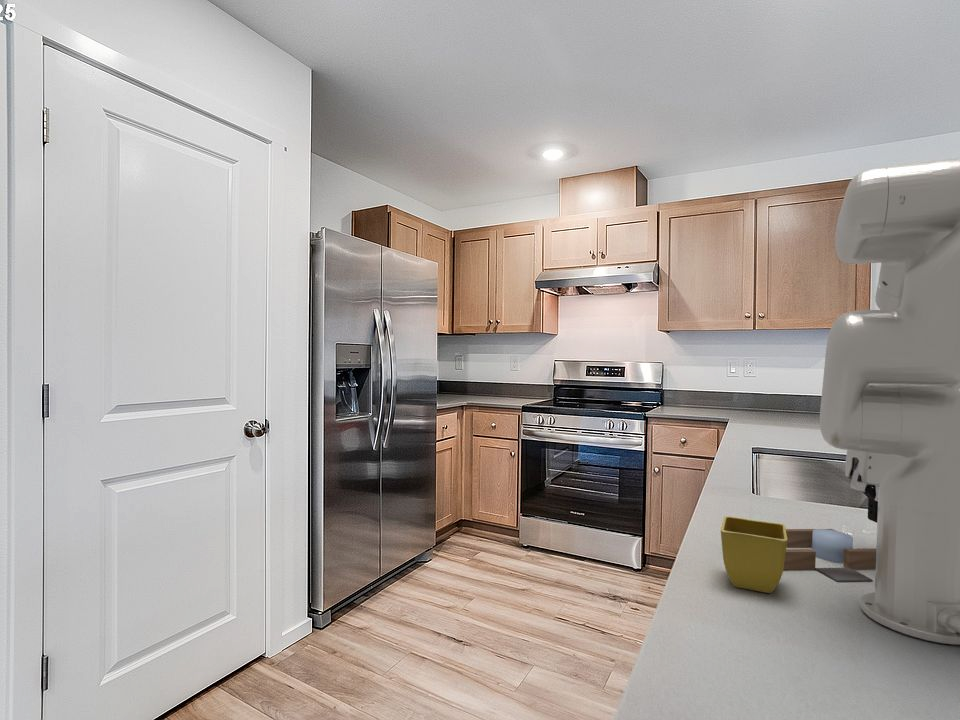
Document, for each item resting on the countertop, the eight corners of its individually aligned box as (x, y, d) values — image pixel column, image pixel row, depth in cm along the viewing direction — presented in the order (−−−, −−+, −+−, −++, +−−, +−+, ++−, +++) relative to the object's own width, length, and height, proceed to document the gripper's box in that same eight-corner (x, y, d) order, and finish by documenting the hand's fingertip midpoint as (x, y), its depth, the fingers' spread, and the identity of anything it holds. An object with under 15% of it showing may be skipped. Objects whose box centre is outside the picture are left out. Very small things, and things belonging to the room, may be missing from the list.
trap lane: (907, 580, 86) (908, 555, 86) (782, 582, 84) (782, 557, 84) (813, 536, 107) (814, 515, 107) (711, 536, 105) (711, 516, 104)
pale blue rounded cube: (860, 563, 93) (861, 540, 93) (828, 563, 92) (829, 540, 92) (834, 550, 99) (835, 529, 99) (804, 550, 98) (804, 529, 98)
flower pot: (718, 589, 81) (720, 529, 81) (722, 569, 89) (723, 514, 88) (785, 603, 77) (787, 540, 77) (783, 581, 84) (785, 524, 84)
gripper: (902, 417, 101) (898, 514, 102) (828, 417, 100) (824, 515, 100) (940, 423, 94) (935, 528, 94) (861, 424, 92) (856, 530, 93)
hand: (878, 521), depth 97 cm, fingers closed
